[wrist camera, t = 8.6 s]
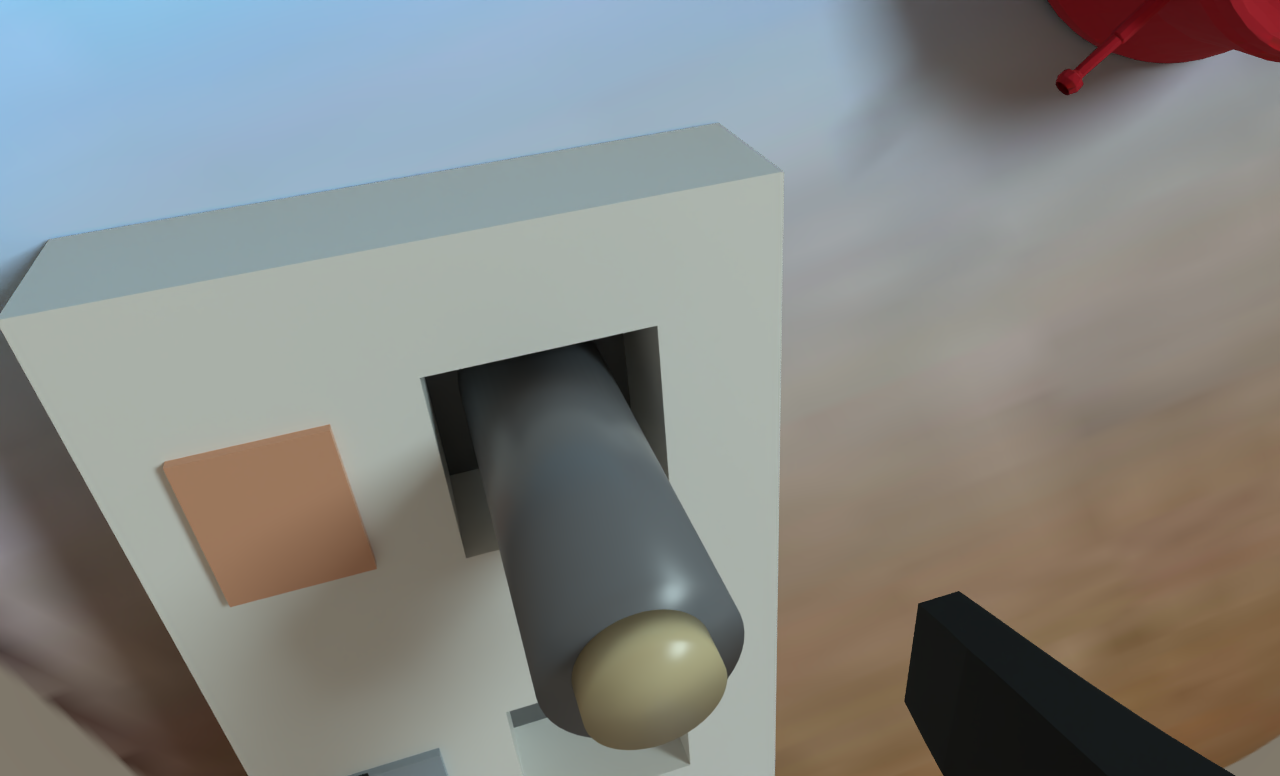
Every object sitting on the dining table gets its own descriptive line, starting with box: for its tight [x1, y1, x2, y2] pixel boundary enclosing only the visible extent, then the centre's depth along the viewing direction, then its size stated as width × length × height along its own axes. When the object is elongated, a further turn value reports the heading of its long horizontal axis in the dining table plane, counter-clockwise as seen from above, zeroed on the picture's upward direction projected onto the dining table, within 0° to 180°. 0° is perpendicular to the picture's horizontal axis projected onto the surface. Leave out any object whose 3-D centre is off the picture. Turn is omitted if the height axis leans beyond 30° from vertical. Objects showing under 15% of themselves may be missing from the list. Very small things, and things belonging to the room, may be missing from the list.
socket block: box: [0, 123, 784, 776], centre depth 20 cm, size 18×12×3 cm, turn 5°
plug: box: [458, 340, 745, 750], centre depth 15 cm, size 3×3×9 cm
